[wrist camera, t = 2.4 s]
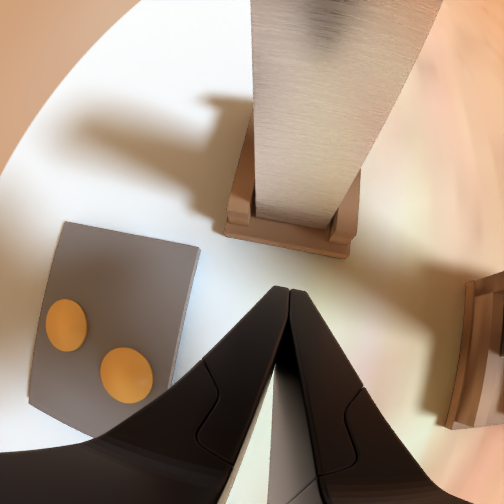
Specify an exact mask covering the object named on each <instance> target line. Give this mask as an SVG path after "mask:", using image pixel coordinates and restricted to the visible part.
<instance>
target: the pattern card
mask: <svg viewBox="0 0 504 504" xmlns="http://www.w3.org/2000/svg"><path fill="white" fill-rule="evenodd" d="M200 251H201V250H200V249H199V247H195V246H190V245H184V244H179V243H174V242H169V241H164V240H159V239H153V238H148V237H143V236H138V235H133V234H128V233H122V232H117V231H112V230H107V229H102V228H97V227H92V226H87V225H82V224H76V223H71V222H65V225H64V228H63V231H62V234H61V237H60V240H59V243H58V246H57V250H56V253H55V256H54V260H53V263H52V267H51V271H50V275H49V278H48V282H47V286H46V291H45V295H44V299H43V304H42V308H41V313H40V318H39V324H38V329H37V335H36V341H35V347H34V354H33V361H32V369H31V379H30V389H29V404H30V405H32V406H34V407H35V408H37V409H39V410H41V411H42V412H44V413H46V414H48V415H49V416H51V417H53V418H55V419H57V420H59V421H60V422H62V423H64V424H66V425H68V426H70V427H72V428H74V429H76V430H78V431H80V432H82V433H84V434H87V435H89V436H91V437H93V438H96V437H98V436H100V435H102V434H104V433H105V432H107V431H109V430H110V429H112V428H113V427H115V426H116V425H118V424H119V423H121V422H122V421H124V420H125V419H127V418H128V417H130V416H131V415H133V414H134V413H135V412H137V411H138V410H140V409H141V408H143V407H144V406H146V405H147V404H148V403H150V402H151V401H153V400H154V399H156V398H157V397H158V396H160V395H161V394H162V393H163V392H165V391H166V390H167V389H169V388H170V387H171V382H172V377H173V372H174V367H175V362H176V357H177V352H178V347H179V343H180V338H181V333H182V329H183V324H184V319H185V315H186V310H187V306H188V301H189V297H190V293H191V288H192V284H193V280H194V276H195V271H196V267H197V263H198V259H199V255H200Z"/></svg>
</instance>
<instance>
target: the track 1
mask: <svg viewBox="0 0 504 504" xmlns="http://www.w3.org/2000/svg"><path fill="white" fill-rule="evenodd" d="M360 175H361V168H360V170H359V172H358V173H357V175H356V177H355V179H354V180H353V182H352V184H351V186H350V188H349V189H348V191H347V193H346V195H345V196H344V198H343V200H342V202H341V203H340V205H339V207H338V209H337V210H336V212H335V214H334V215H333V217H332V219H331V221H330V222H329V224H328V226H327V227H326V229H325V230H323V229H318V228H312V227H307V226H302V225H297V224H292V223H286V222H281V221H276V220H270V219H265V218H259V217H256V189H255V147H254V107H253V111H252V115H251V118H250V122H249V126H248V129H247V133H246V137H245V140H244V144H243V148H242V151H241V155H240V159H239V163H238V167H237V170H236V174H235V178H234V182H233V186H232V190H231V194H230V198H229V202H228V206H227V214H228V217H227V221H226V225H225V229H224V234H225V237H230V238H236V239H241V240H246V241H252V242H257V243H263V244H268V245H273V246H279V247H284V248H289V249H295V250H300V251H305V252H310V253H316V254H321V255H326V256H331V257H337V258H342V259H346V258H347V257H348V256H349V251H350V242H351V240H352V239H353V238H354V237H355V236H356V233H357V222H358V209H359V194H360Z"/></svg>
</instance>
